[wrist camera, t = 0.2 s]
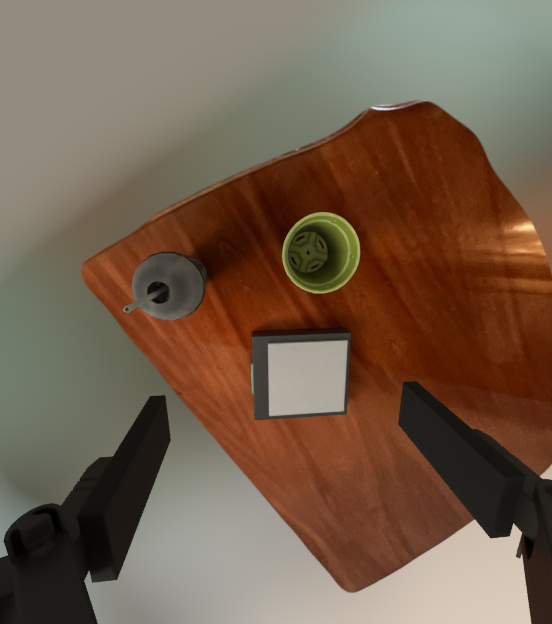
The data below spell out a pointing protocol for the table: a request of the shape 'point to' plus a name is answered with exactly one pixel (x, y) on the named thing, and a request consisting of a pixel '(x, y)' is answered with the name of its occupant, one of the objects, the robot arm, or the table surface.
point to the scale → (300, 373)
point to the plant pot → (321, 252)
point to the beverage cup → (168, 286)
